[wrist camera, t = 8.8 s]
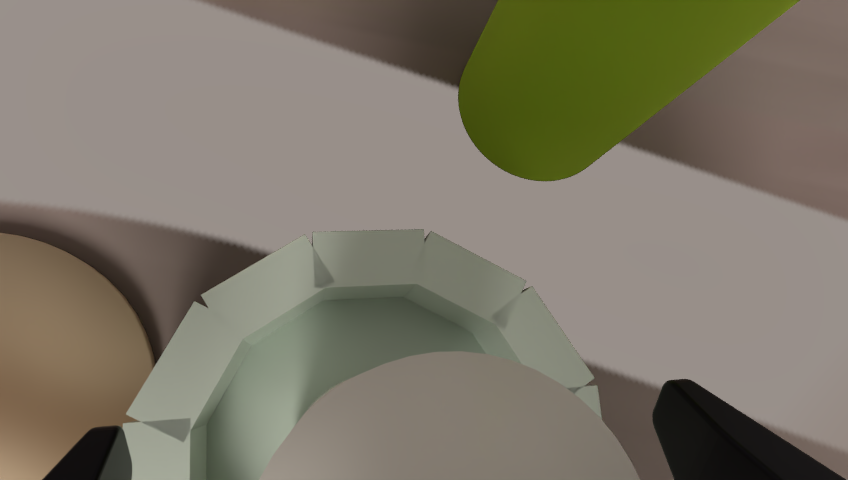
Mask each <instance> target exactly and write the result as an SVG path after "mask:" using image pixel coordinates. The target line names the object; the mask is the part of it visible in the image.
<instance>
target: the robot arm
mask: <svg viewBox="0 0 848 480" xmlns="http://www.w3.org/2000/svg"><path fill="white" fill-rule="evenodd" d="M653 425H654V428H655V430H656V433H657V436H658V438H659V441H660V443H661V446H662V449H663V451H664V454H665V456H666V459H667V462H668V464H669V467H670V469H671V472H672V475H673V477H674V480H846V479H844V478H843V477H841V476H840V475H838V474H837V473H835V472H834V471H832V470H830V469H829V468H827V467H826V466H824V465H823V464H821V463H819V462H818V461H816V460H815V459H813V458H812V457H810V456H809V455H807V454H805V453H804V452H802V451H801V450H799V449H798V448H796V447H795V446H793V445H791V444H790V443H788V442H787V441H785V440H784V439H782V438H781V437H779V436H777V435H776V434H774V433H773V432H771V431H770V430H768V429H767V428H765V427H763V426H762V425H760V424H759V423H757V422H756V421H754V420H752V419H751V418H749V417H748V416H746V415H745V414H743V413H742V412H740V411H738V410H737V409H735V408H734V407H732V406H731V405H729V404H728V403H726V402H724V401H723V400H721V399H720V398H718V397H717V396H715V395H713V394H712V393H710V392H709V391H707V390H706V389H704V388H703V387H701V386H699V385H698V384H696V383H695V382H693V381H691V380H688V379H679V380H669V381H667V382H666V383H665V384H664V385H663V387H662V390H661V392H660V395H659V397H658V400H657V403H656V405H655V408H654V410H653ZM131 479H132V460H131V456H130V452H129V448H128V444H127V441H126V437H125V433H124V430H123V428H122V427H121V426H117V425H114V426H101V427H94V428H92V429H90V430H89V431H87V432H86V433H85V434H84V436H83V437H82V438H81V439H80V440H79V441H78V442H77V443H76V444H75V445H74V446H73V447H72V448H71V449H70V450H69V451H68V453H67V454H66V455H65V456H64V457H63V458H62V459H61V460H60V461H59V462H58V463H57V464H56V465H55V466H54V467H53V469H52V470H51V471H50V472H49V473H48V474H47V475H46V476H45V477H44V478H43V479H42V480H131Z"/></svg>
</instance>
